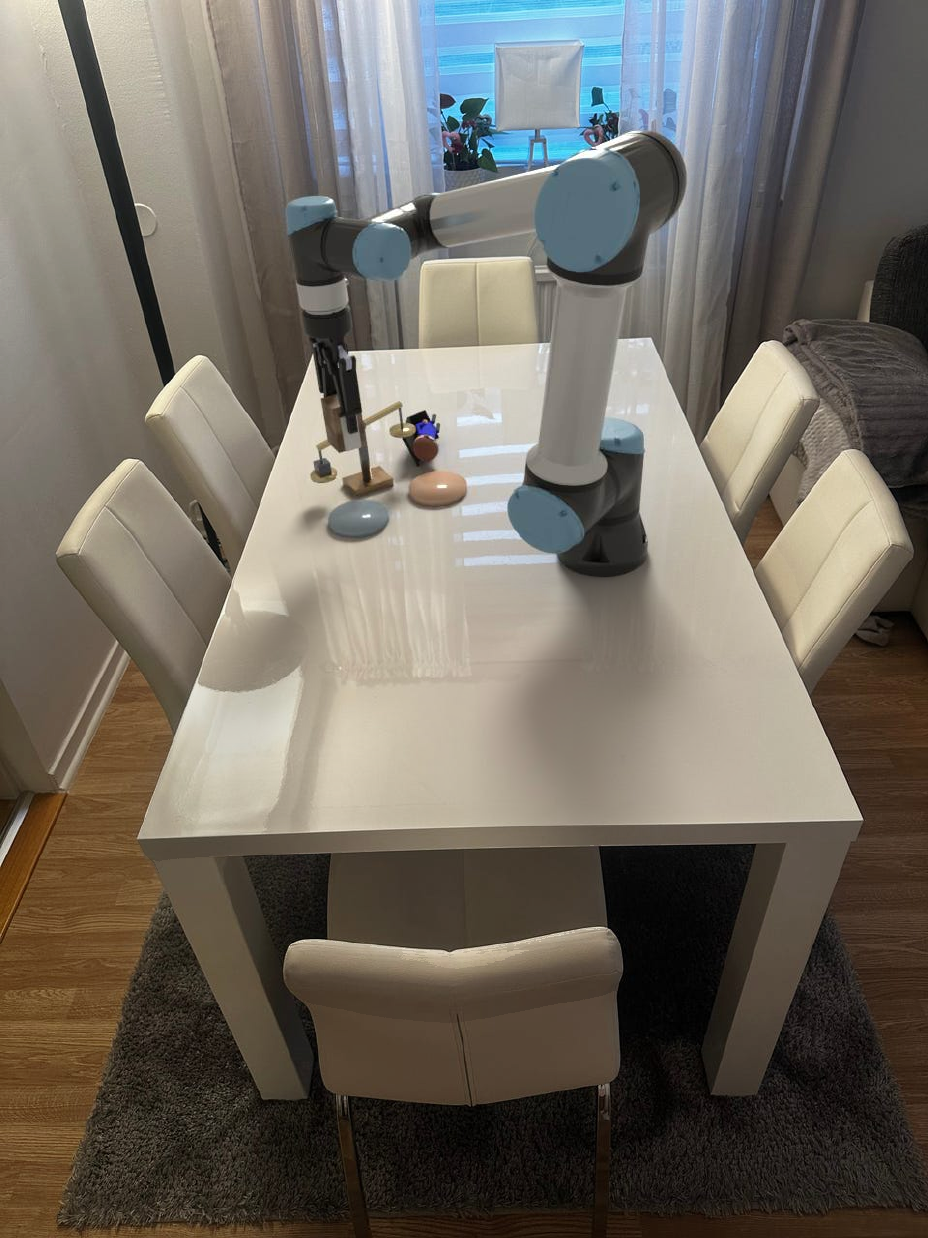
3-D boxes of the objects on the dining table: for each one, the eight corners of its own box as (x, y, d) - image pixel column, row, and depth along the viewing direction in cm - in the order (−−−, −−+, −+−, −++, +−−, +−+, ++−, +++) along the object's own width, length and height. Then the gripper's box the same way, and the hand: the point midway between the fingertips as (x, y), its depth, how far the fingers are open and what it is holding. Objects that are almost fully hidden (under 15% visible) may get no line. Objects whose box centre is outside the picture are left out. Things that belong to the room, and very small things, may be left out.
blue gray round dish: (399, 524, 161) (398, 519, 160) (343, 544, 157) (342, 538, 156) (373, 499, 168) (372, 493, 168) (319, 517, 165) (318, 511, 164)
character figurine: (443, 437, 187) (437, 473, 176) (409, 435, 188) (400, 471, 176) (443, 402, 182) (437, 437, 171) (408, 401, 183) (399, 435, 171)
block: (366, 444, 152) (360, 400, 147) (339, 452, 150) (332, 408, 145) (354, 433, 156) (347, 390, 151) (327, 441, 154) (320, 398, 149)
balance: (425, 474, 175) (418, 404, 165) (322, 508, 167) (308, 437, 158) (411, 462, 179) (403, 393, 170) (310, 495, 171) (296, 424, 162)
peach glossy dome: (477, 494, 168) (477, 488, 167) (426, 512, 164) (425, 506, 163) (449, 470, 175) (448, 465, 174) (399, 487, 171) (398, 481, 171)
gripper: (371, 317, 133) (389, 456, 148) (325, 286, 146) (345, 417, 160) (325, 328, 131) (348, 469, 145) (282, 296, 143) (306, 428, 158)
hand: (346, 441), depth 153 cm, fingers closed on block, 5 cm apart
